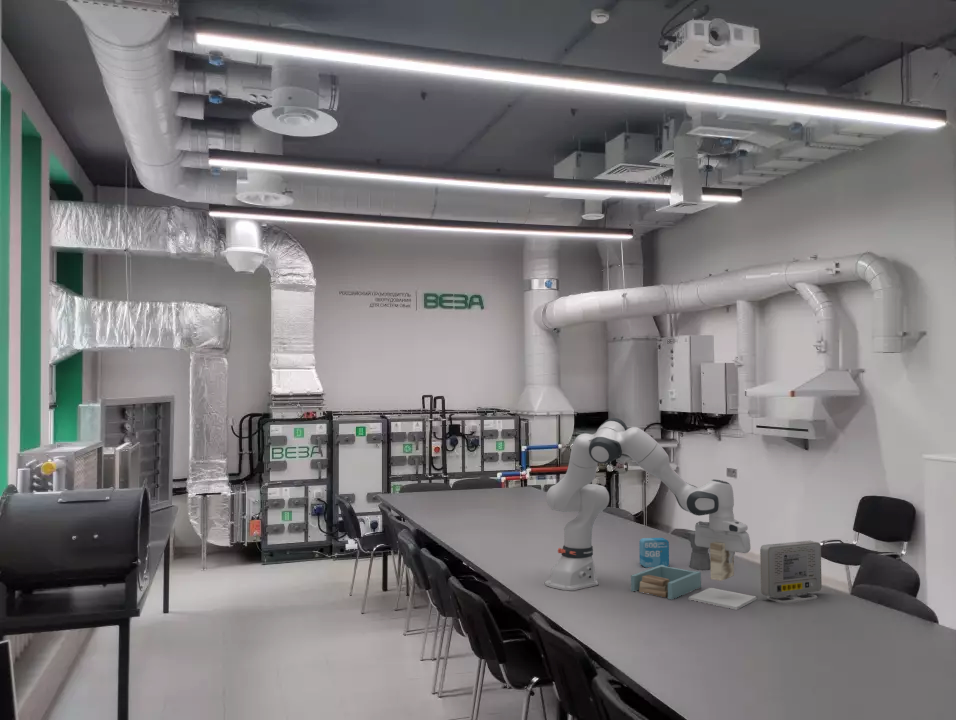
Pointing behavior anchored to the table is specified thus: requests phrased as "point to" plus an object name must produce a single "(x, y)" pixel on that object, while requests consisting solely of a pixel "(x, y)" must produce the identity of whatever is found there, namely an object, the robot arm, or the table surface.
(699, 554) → the coffeepot
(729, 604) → the pad
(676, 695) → the table surface
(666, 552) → the data package
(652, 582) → the offcut stack
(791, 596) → the network device
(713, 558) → the beige wooden block
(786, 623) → the table surface
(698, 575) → the tray
